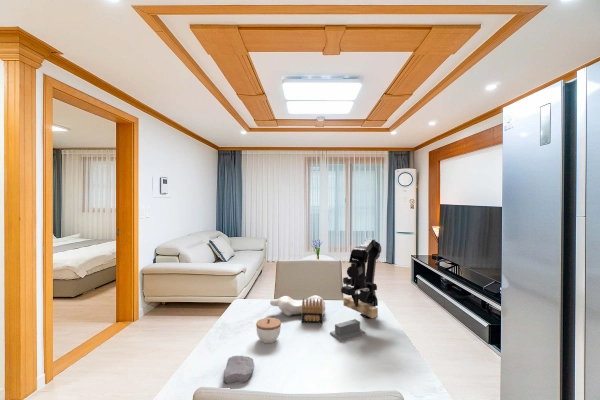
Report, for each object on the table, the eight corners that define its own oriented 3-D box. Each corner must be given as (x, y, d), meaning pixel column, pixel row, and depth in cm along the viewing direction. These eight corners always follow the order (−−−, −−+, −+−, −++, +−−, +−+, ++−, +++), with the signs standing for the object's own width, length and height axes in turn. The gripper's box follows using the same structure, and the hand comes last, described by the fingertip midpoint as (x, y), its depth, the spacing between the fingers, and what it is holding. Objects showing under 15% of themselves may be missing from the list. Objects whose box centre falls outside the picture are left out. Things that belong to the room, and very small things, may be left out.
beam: (343, 305, 150) (343, 297, 151) (348, 304, 152) (348, 296, 152) (372, 318, 134) (372, 309, 134) (377, 316, 135) (377, 307, 135)
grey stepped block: (353, 327, 142) (353, 317, 143) (364, 333, 136) (364, 322, 136) (330, 334, 135) (330, 323, 135) (341, 341, 128) (341, 329, 128)
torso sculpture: (323, 312, 167) (271, 306, 168) (325, 294, 167) (273, 287, 168) (324, 324, 151) (266, 316, 153) (326, 303, 151) (269, 296, 153)
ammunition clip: (322, 322, 149) (322, 298, 149) (322, 323, 147) (322, 299, 147) (301, 321, 149) (301, 297, 149) (301, 323, 147) (301, 299, 147)
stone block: (253, 369, 110) (226, 364, 109) (255, 356, 110) (229, 352, 109) (250, 390, 98) (220, 385, 97) (253, 376, 98) (223, 371, 97)
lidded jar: (284, 337, 131) (285, 316, 132) (272, 348, 122) (273, 325, 122) (264, 332, 136) (264, 312, 136) (251, 342, 126) (251, 321, 126)
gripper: (362, 268, 155) (361, 298, 155) (334, 272, 145) (333, 304, 145) (377, 273, 146) (377, 304, 145) (349, 277, 136) (348, 311, 136)
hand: (359, 306), depth 143 cm, fingers closed on beam, 3 cm apart
